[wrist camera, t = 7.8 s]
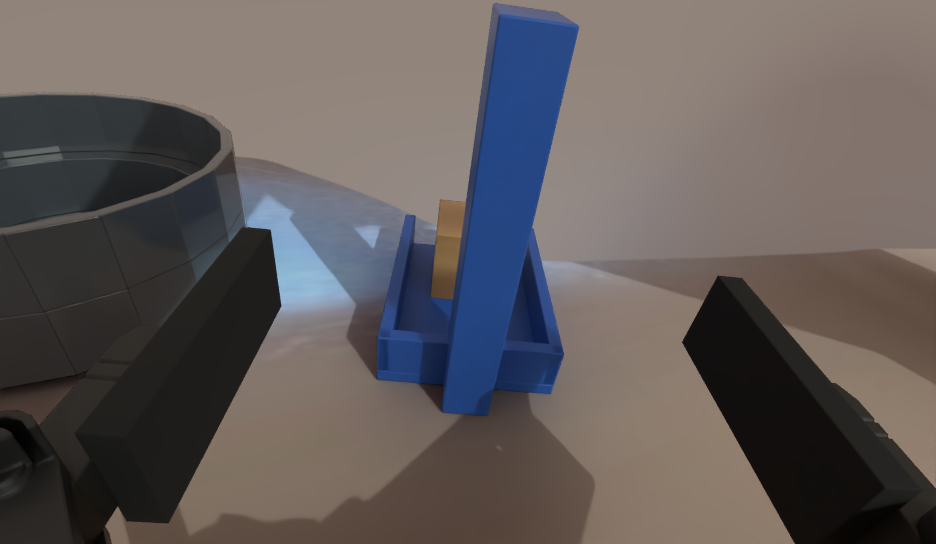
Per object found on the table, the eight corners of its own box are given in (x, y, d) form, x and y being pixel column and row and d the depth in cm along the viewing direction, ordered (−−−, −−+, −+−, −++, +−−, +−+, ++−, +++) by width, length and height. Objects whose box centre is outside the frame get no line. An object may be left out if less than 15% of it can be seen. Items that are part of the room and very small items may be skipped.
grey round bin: (312, 265, 27) (302, 150, 23) (-54, 477, 15) (-208, 314, 11) (145, 182, 32) (114, 78, 28) (-219, 288, 20) (-362, 135, 16)
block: (502, 305, 25) (516, 243, 23) (430, 298, 25) (436, 234, 22) (498, 264, 28) (509, 206, 26) (434, 257, 28) (440, 199, 26)
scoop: (556, 421, 20) (698, 42, 11) (370, 407, 19) (372, -6, 11) (525, 262, 30) (588, 0, 22) (404, 249, 29) (418, -25, 21)
